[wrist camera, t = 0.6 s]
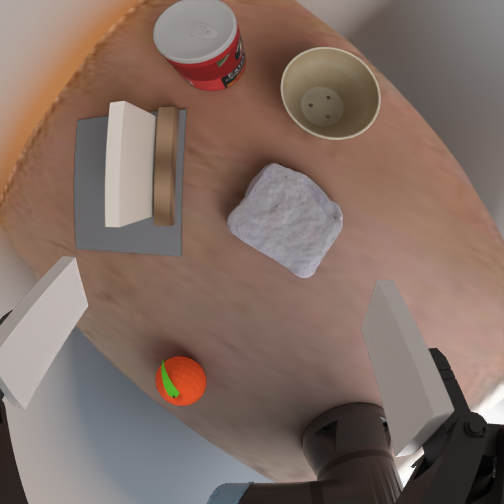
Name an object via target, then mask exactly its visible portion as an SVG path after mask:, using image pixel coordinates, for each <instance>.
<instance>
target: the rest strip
mask: <svg viewBox="0 0 504 504" xmlns="http://www.w3.org/2000/svg"><path fill="white" fill-rule="evenodd" d="M179 111H180V110H179V109H178V108H176V107H175V106H173V107H158V120H157V134H156V151H155V174H154V226H172V225H174V224H175V187H176V161H177V141H178V125H179Z"/></svg>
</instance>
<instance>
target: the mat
mask: <svg viewBox="0 0 504 504" xmlns="http://www.w3.org/2000/svg"><path fill="white" fill-rule="evenodd" d="M186 112H187V110H180V111H179V125H178V141H177V161H176V187H175V224H174V225H172V226H154V216H153V217H149V218H146V219H143V220H140V221H137V222H134V223H131V224H128V225H125V226H122V227H105V168H106V147H107V132H108V119H109V116H105V117H97V118H90V119H84V120H78V121H77V133H76V147H75V169H74V216H75V239H76V249H84V250H98V251H111V252H124V253H138V254H152V255H166V256H182V189H183V162H184V143H185V126H186ZM148 113H150V114H152V115H154V116H156V117H158V111H154V112H148Z"/></svg>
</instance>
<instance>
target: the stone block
mask: <svg viewBox="0 0 504 504" xmlns="http://www.w3.org/2000/svg"><path fill="white" fill-rule="evenodd" d="M342 220H343V214H342V212H341V209H340V207H339V206H338V205H337V204H336V203H335V202H333V201H332V200H331V199H330V198H329V197H328V196H327V195H326V194H325V192H324V191H323V190H322V189H321V188H320V187H319V186H318V185H317V184H316V183H315V182H313V181H312V180H311V179H310V178H309V177H307V176H306V175H305V174H302V173H299V172H297V171H293V170H292V169H290V168H285V167H283V166H281V165H279V164H277V163H270V164H269V165H266V166H265V167H264V168H263V169H262V170H261V171H260V172H259V173H258V174H257V175H256V176H255V177H254V178H253V179H252V181H251V182H250V184H249V187H248V189H247V191H246V192H245V197H244V199H243V200H242V201H241V202H240V203H239V205H238V206H236V208H235V209H234V210H232V212H231V213H230V215H229V216H228V219H227V223H226V225H227V227H228V230H230V232H231V233H232V234H234V235H235V236H236V237H238V238H239V239H241V240H242V241H243V242H245V243H247V244H248V245H250V246H252V247H253V248H255V249H256V250H258V251H260V252H261V253H263V254H265V255H267V256H269V257H271V258H272V259H274V260H276V261H277V262H279V263H280V264H281V265H283V266H285V267H286V268H287V269H289V270H290V271H291V272H292V273H294V274H295V275H297V276H299V277H301V278H308V277H310V276H312V275H313V274H314V273H315V271H316V268H317V267H318V265H319V263H320V261H321V259H322V258H323V256H324V255H325V254H326V252H327V251H328V249H329V248H330V246H331V245H332V244H333V242H334V241H335V239H336V237H337V236H338V235H339V233H340V232H341V229H342V227H343V223H342Z"/></svg>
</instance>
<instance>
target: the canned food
mask: <svg viewBox="0 0 504 504" xmlns="http://www.w3.org/2000/svg"><path fill="white" fill-rule="evenodd" d="M153 39H154V43H155V45H156V47H157V49H158V50H159V52H160V53H161V54H162V55H163V56H164V57H165V58H166V59H167V61H168V62H169V63H170V64H171V65H172V66H173V67H174V68H175V69H176V70H177V71H178V72H179V73H180V74H181V75H182V76H183V77H184V78H185V79H186V80H187V81H188V83H190V84H191V85H192V86H194V87H196V88H198V89H201V90H207V91H217V90H222V89H225V88H227V87H230V86H231V85H233V84H234V83H235V82H236V81H237V80H238V79H239V78H240V77H241V75H242V74H243V72H244V70H245V66H246V57H245V52H244V48H243V44H242V39H241V35H240V31H239V27H238V24H237V20H236V17H235V15H234V13H233V12H232V10H231V9H230V7H228V6H227V5H226V4H225V3H223V2H222V1H220V0H181V1H179V2H177V3H174V4H173V5H171V6H170V7H168V8H167V9H166V10H165V11H164V12H163V13H162V14H161V15H160V17H159V18H158V20H157V21H156V23H155V26H154V30H153Z"/></svg>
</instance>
